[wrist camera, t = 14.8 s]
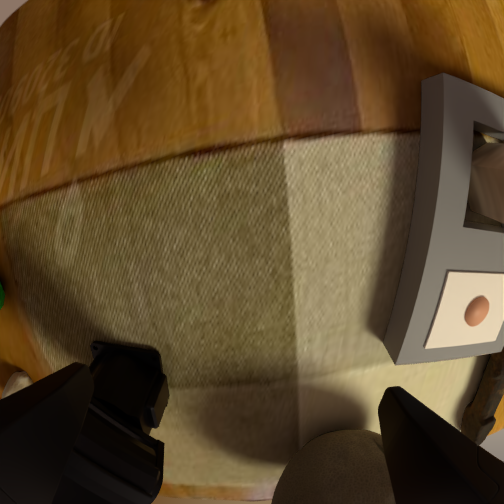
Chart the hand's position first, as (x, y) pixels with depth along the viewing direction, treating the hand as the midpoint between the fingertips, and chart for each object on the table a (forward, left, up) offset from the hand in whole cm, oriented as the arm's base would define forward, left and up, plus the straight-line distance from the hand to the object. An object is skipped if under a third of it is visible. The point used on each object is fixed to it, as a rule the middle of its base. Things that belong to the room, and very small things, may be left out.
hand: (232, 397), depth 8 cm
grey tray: (+17, +3, -13) cm, 22 cm away
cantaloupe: (+10, -21, -13) cm, 27 cm away
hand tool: (+27, -13, -14) cm, 33 cm away
